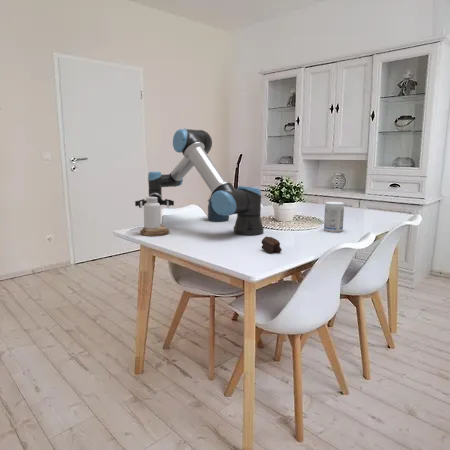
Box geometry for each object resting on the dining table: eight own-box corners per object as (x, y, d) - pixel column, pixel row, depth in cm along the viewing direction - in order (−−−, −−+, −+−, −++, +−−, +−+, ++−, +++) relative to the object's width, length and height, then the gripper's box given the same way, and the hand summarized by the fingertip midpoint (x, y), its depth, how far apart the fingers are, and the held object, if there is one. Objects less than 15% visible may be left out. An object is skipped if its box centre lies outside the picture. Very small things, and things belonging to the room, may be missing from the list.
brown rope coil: (174, 233, 184) (174, 227, 183) (150, 237, 174) (150, 231, 173) (158, 229, 193) (158, 223, 193) (134, 233, 184) (134, 227, 183)
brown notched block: (284, 240, 148) (267, 232, 155) (272, 249, 145) (255, 240, 153) (286, 252, 151) (270, 243, 158) (275, 261, 148) (259, 251, 156)
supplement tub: (335, 228, 200) (337, 201, 197) (346, 231, 191) (348, 203, 188) (319, 229, 196) (321, 201, 194) (330, 233, 188) (332, 204, 185)
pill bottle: (152, 229, 177) (152, 198, 174) (140, 228, 181) (139, 197, 179) (164, 227, 184) (163, 197, 181) (152, 225, 188) (151, 196, 185)
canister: (229, 222, 215) (229, 191, 212) (206, 221, 215) (207, 191, 212) (229, 218, 228) (229, 189, 225) (208, 218, 228) (208, 189, 225)
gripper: (177, 206, 214) (179, 212, 193) (132, 207, 210) (129, 213, 189) (177, 193, 213) (178, 197, 192) (132, 193, 208) (129, 198, 188)
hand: (154, 205), depth 191 cm, fingers open, 13 cm apart
